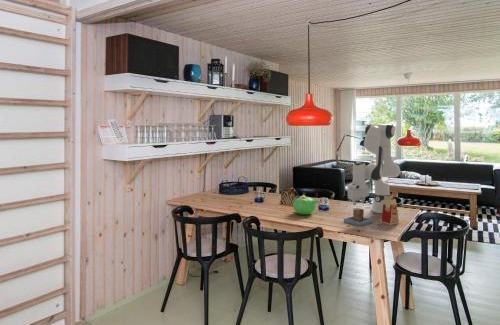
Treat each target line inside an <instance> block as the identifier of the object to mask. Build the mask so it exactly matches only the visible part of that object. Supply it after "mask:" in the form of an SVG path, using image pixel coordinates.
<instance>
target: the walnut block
mask: <svg viewBox="0 0 500 325" xmlns="http://www.w3.org/2000/svg"><path fill="white" fill-rule="evenodd" d="M352 211H353V212H352V213H353V214H352V217H353V221H358V222H362V221H363V217H364V214H365V213H364V208H360V207H359V208H353V209H352Z"/></svg>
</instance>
